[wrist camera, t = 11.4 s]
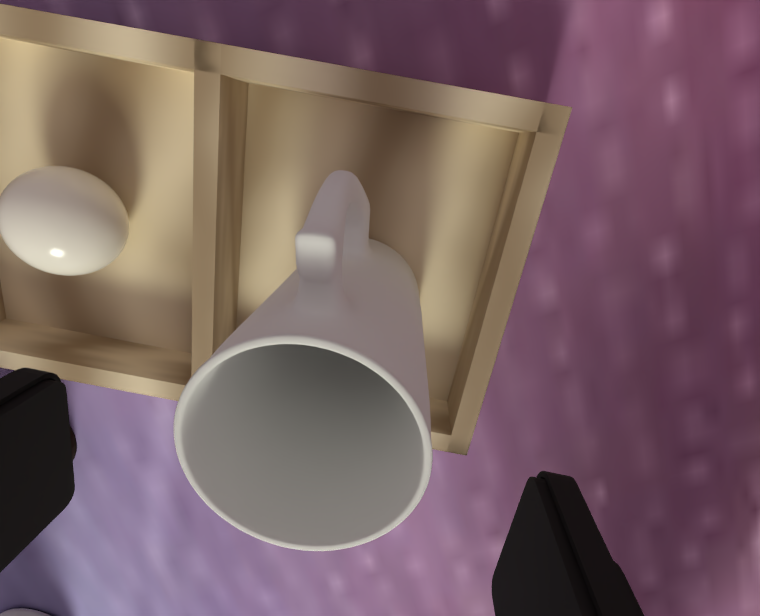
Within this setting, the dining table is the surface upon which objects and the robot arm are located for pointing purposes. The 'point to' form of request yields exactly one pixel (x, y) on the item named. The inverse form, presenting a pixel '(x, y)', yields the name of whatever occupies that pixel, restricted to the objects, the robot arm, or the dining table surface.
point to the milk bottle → (22, 612)
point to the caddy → (258, 198)
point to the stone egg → (63, 220)
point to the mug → (317, 393)
